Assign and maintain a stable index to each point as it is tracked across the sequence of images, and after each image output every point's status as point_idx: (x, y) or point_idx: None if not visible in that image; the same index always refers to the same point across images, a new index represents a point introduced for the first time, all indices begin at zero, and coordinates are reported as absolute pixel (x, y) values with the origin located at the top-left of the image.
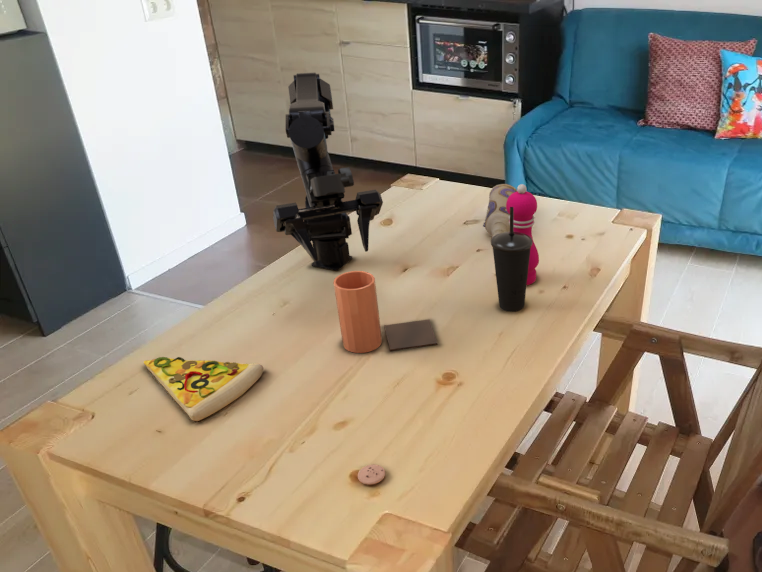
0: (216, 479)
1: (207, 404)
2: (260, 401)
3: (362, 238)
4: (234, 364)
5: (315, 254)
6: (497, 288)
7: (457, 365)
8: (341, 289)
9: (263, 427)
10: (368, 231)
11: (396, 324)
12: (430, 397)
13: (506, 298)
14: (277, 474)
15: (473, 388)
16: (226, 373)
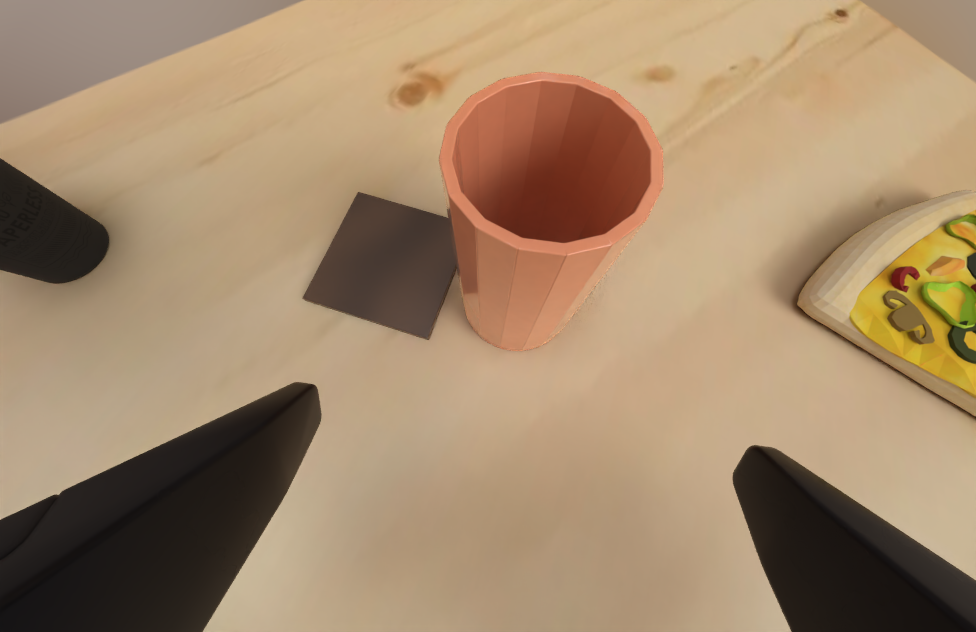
0: (883, 60)
1: (950, 195)
2: (804, 205)
3: (231, 523)
4: (901, 315)
5: (782, 472)
6: (29, 229)
7: (373, 113)
8: (640, 114)
9: (801, 131)
10: (86, 481)
11: (395, 322)
12: (479, 62)
13: (61, 202)
14: (784, 29)
15: (395, 47)
16: (921, 281)
